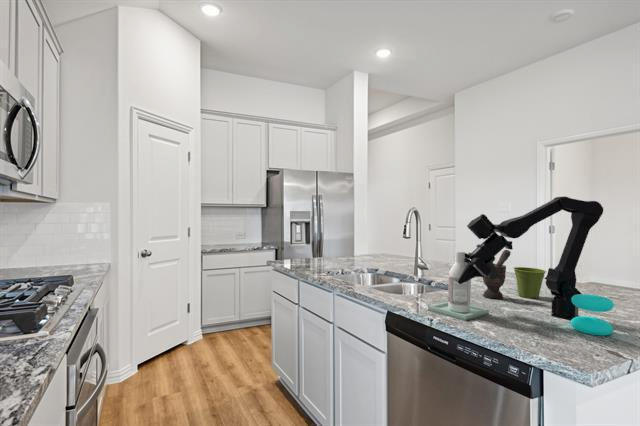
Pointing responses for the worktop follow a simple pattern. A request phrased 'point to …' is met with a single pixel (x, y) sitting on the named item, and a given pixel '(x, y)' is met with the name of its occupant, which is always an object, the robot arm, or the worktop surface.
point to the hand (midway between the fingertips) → (454, 280)
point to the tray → (473, 313)
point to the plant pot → (529, 281)
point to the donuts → (592, 323)
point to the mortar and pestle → (498, 282)
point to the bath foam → (458, 286)
